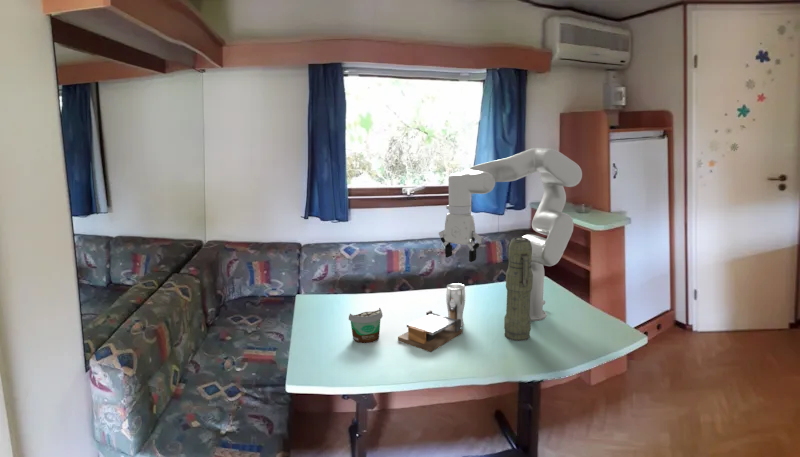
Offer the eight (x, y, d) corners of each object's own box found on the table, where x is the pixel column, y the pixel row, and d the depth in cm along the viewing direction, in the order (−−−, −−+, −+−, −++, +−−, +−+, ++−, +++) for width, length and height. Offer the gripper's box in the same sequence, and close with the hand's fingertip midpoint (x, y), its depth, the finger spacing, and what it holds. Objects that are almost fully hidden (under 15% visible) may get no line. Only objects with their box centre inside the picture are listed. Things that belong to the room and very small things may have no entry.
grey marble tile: (432, 316, 185) (432, 312, 185) (457, 323, 178) (457, 319, 178) (406, 327, 174) (406, 323, 174) (432, 336, 167) (432, 331, 167)
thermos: (520, 327, 183) (524, 234, 176) (536, 341, 172) (541, 241, 164) (498, 330, 181) (500, 235, 174) (512, 344, 170) (516, 243, 162)
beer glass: (464, 329, 183) (464, 289, 179) (445, 328, 184) (445, 288, 181) (465, 321, 189) (466, 283, 186) (447, 320, 191) (447, 282, 187)
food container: (356, 347, 169) (355, 319, 167) (349, 341, 174) (348, 313, 172) (389, 340, 175) (388, 312, 172) (381, 333, 180) (380, 307, 178)
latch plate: (430, 323, 188) (430, 308, 187) (462, 333, 179) (462, 318, 178) (398, 340, 174) (397, 325, 173) (430, 352, 165) (430, 335, 164)
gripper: (432, 209, 173) (433, 257, 177) (476, 214, 162) (476, 265, 166) (445, 205, 178) (446, 252, 182) (488, 210, 167) (488, 260, 171)
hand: (460, 258), depth 174 cm, fingers open, 9 cm apart
